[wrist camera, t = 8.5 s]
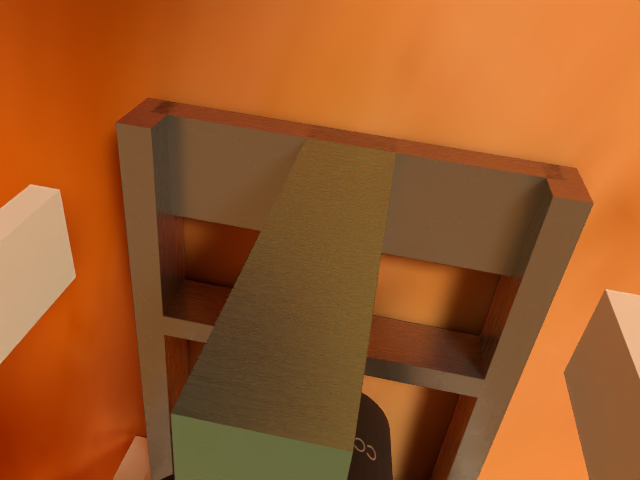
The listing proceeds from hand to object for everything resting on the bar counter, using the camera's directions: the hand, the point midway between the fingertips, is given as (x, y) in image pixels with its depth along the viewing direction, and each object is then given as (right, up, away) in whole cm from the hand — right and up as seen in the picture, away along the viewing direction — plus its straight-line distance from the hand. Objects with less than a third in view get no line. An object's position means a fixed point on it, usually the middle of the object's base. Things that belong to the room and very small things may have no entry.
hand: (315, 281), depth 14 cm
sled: (0, -3, +11) cm, 12 cm away
